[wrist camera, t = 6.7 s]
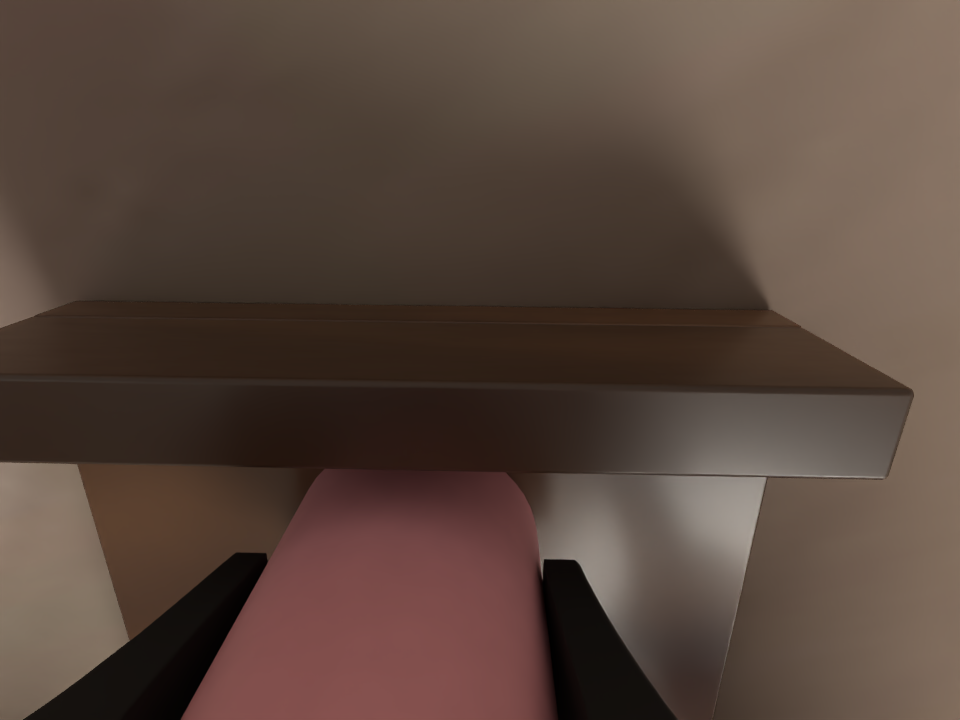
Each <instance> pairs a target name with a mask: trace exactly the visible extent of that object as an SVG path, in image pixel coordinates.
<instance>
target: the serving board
mask: <svg viewBox="0 0 960 720" xmlns="http://www.w3.org/2000/svg"><path fill="white" fill-rule="evenodd" d="M913 397H914V393H913V390H912V389H910V388H908V387H907V386H905V385H903V384H901V383H900V382H898V381H896V380H894V379H892V378H891V377H889V376H887V375H885V374H884V373H882V372H880V371H878V370H876V369H875V368H873V367H871V366H869V365H867V364H866V363H864V362H862V361H860V360H859V359H857V358H855V357H853V356H851V355H850V354H848V353H846V352H844V351H843V350H841V349H839V348H837V347H835V346H834V345H832V344H830V343H828V342H826V341H825V340H823V339H821V338H819V337H818V336H816V335H814V334H812V333H810V332H809V331H807V330H805V329H803V328H801V326H799V325H798V324H796V323H794V322H792V321H791V320H789V319H787V318H785V317H783V316H782V315H780V314H778V313H776V312H774V311H772V310H711V309H637V308H562V307H488V306H413V305H339V304H264V303H190V302H115V301H75V302H72V303H69V304H66V305H63V306H61V307H58V308H55V309H52V310H49V311H46V312H43V313H40V314H38V315H35V316H34V317H31V318H28V319H25V320H22V321H19V322H17V323H14V324H11V325H8V326H5V327H2V328H0V462H12V463H63V464H77V465H78V468H79V472H80V475H81V478H82V482H83V485H84V489H85V492H86V495H87V499H88V502H89V505H90V509H91V512H92V516H93V519H94V522H95V526H96V529H97V532H98V536H99V539H100V543H101V546H102V549H103V553H104V556H105V559H106V563H107V566H108V569H109V573H110V576H111V580H112V583H113V586H114V590H115V593H116V596H117V600H118V603H119V607H120V610H121V613H122V617H123V620H124V623H125V627H126V630H127V634H128V637H129V640H132V639H133V638H134V637H135V636H137V635H138V634H139V633H140V632H142V631H143V630H144V629H145V628H146V627H148V626H149V625H150V624H151V623H152V622H154V621H155V620H156V619H157V618H158V617H160V616H161V615H162V614H163V613H164V612H166V611H167V610H168V609H169V608H171V607H172V606H173V605H174V604H175V603H177V602H178V601H179V600H180V599H181V598H182V597H184V596H185V595H186V594H187V593H188V592H189V591H191V590H192V589H193V588H194V587H195V586H197V585H198V584H199V583H200V582H201V581H202V580H204V579H205V578H206V577H207V576H208V575H209V574H211V573H212V572H213V571H214V570H215V569H216V568H218V567H219V566H220V565H221V564H222V563H224V562H225V561H226V560H227V559H228V558H230V557H231V556H232V555H233V554H235V553H236V552H243V553H266V554H267V560H268V561H269V560H270V558H271V556H272V554H273V552H274V551H275V549H276V547H277V545H278V543H279V542H280V540H281V538H282V536H283V534H284V533H285V531H286V529H287V527H288V525H289V524H290V522H291V520H292V518H293V516H294V515H295V513H296V511H297V509H298V507H299V506H300V504H301V502H302V500H303V499H304V497H305V495H306V493H307V491H308V490H309V488H310V486H311V485H312V484H313V482H314V481H315V479H316V478H317V477H318V475H319V474H320V473H321V472H322V471H323V470H324V469H367V470H418V471H469V472H506V473H507V475H508V476H509V477H510V478H511V479H512V480H513V481H514V482H515V483H516V484H517V486H518V487H519V488H520V490H521V491H522V493H523V494H524V496H525V498H526V500H527V501H528V503H529V505H530V508H531V510H532V513H533V516H534V519H535V524H536V529H537V536H538V545H539V554H540V563H541V571H542V580H543V564H544V559H564V560H576V561H577V562H578V563H579V564H580V565H581V568H582V570H583V572H584V574H585V576H586V578H587V580H588V582H589V584H590V586H591V588H592V590H593V592H594V593H595V595H596V597H597V599H598V601H599V602H600V604H601V606H602V608H603V609H604V611H605V613H606V615H607V616H608V618H609V620H610V621H611V623H612V625H613V626H614V628H615V630H616V631H617V633H618V634H619V636H620V637H621V639H622V640H623V642H624V644H625V645H626V647H627V648H628V650H629V651H630V653H631V654H632V656H633V658H634V659H635V661H636V662H637V663H638V665H639V666H640V668H641V669H642V671H643V672H644V674H645V675H646V677H647V678H648V679H649V681H650V682H651V684H652V685H653V686H654V688H655V689H656V691H657V692H658V693H659V695H660V696H661V697H662V699H663V700H664V702H665V703H666V704H667V706H668V707H669V708H670V710H671V711H672V712H673V714H674V715H675V716H676V717H677V719H678V720H712V719H713V715H714V711H715V706H716V702H717V697H718V693H719V689H720V684H721V680H722V676H723V671H724V667H725V662H726V658H727V654H728V649H729V645H730V641H731V636H732V632H733V627H734V623H735V619H736V614H737V610H738V606H739V601H740V597H741V592H742V588H743V584H744V579H745V575H746V571H747V566H748V562H749V557H750V553H751V549H752V544H753V540H754V535H755V531H756V527H757V522H758V518H759V514H760V509H761V505H762V500H763V496H764V492H765V487H766V483H767V479H768V477H773V478H824V479H874V480H883V479H886V478H887V477H888V475H889V472H890V469H891V466H892V462H893V459H894V456H895V453H896V450H897V447H898V444H899V441H900V437H901V434H902V431H903V428H904V425H905V422H906V419H907V416H908V412H909V409H910V406H911V403H912V400H913Z"/></svg>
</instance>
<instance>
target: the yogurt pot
mask: <svg viewBox="0 0 960 720" xmlns="http://www.w3.org/2000/svg"><path fill="white" fill-rule="evenodd" d="M181 720H558V712H557V703H556V694H555V685H554V677H553V668H552V659H551V650H550V642H549V634H548V626H547V618H546V609H545V600H544V592H543V583H542V571H541V563H540V554H539V545H538V536H537V529H536V524H535V519H534V516H533V513H532V510H531V508H530V505H529V503H528V501H527V500H526V498H525V496H524V494H523V493H522V491H521V490H520V488H519V487H518V486H517V484H516V483H515V482H514V481H513V480H512V479H511V478H510V477H509V476H508V475H507V473H506V472H469V471H418V470H367V469H324V470H323V471H322V472H321V473H320V474H319V475H318V477H317V478H316V479H315V481H314V482H313V484H312V485H311V486H310V488H309V490H308V491H307V493H306V495H305V497H304V499H303V500H302V502H301V504H300V506H299V507H298V509H297V511H296V513H295V515H294V516H293V518H292V520H291V522H290V524H289V525H288V527H287V529H286V531H285V533H284V534H283V536H282V538H281V540H280V542H279V543H278V545H277V547H276V549H275V551H274V552H273V554H272V556H271V558H270V560H269V561H268V563H267V565H266V567H265V569H264V570H263V572H262V574H261V576H260V578H259V579H258V581H257V583H256V585H255V587H254V588H253V590H252V592H251V594H250V596H249V597H248V599H247V601H246V603H245V605H244V606H243V608H242V610H241V612H240V614H239V615H238V617H237V619H236V621H235V623H234V624H233V626H232V628H231V630H230V632H229V633H228V635H227V637H226V639H225V641H224V642H223V644H222V646H221V648H220V649H219V651H218V653H217V655H216V657H215V658H214V660H213V662H212V664H211V666H210V667H209V669H208V671H207V673H206V675H205V676H204V678H203V680H202V682H201V684H200V685H199V687H198V689H197V691H196V693H195V694H194V696H193V698H192V700H191V702H190V703H189V705H188V707H187V709H186V711H185V712H184V714H183V716H182V718H181Z"/></svg>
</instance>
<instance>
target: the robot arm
mask: <svg viewBox="0 0 960 720" xmlns="http://www.w3.org/2000/svg"><path fill="white" fill-rule="evenodd" d="M267 563H268V560H267V554H266V553H243V552H236V553H235V554H233V555H232V556H231V557H230V558H228V559H227V560H226V561H225V562H224V563H222V564H221V565H220V566H219V567H218V568H216V569H215V570H214V571H213V572H212V573H211V574H209V575H208V576H207V577H206V578H205V579H204V580H202V581H201V582H200V583H199V584H198V585H197V586H195V587H194V588H193V589H192V590H191V591H189V592H188V593H187V594H186V595H185V596H184V597H182V598H181V599H180V600H179V601H178V602H177V603H175V604H174V605H173V606H172V607H171V608H169V609H168V610H167V611H166V612H164V613H163V614H162V615H161V616H160V617H158V618H157V619H156V620H155V621H154V622H152V623H151V624H150V625H149V626H148V627H146V628H145V629H144V630H143V631H142V632H140V633H139V634H138V635H137V636H135V637H134V638H133V639H132V640H130V641H129V642H128V643H126V644H125V645H124V646H123V647H121V648H120V649H119V650H117V651H116V652H115V653H113V654H112V655H111V656H110V657H108V658H107V659H106V660H104V661H103V662H102V663H101V664H99V665H98V666H97V667H95V668H94V669H93V670H92V671H90V672H89V673H88V674H86V675H85V676H84V677H83V678H81V679H80V680H79V681H77V682H76V683H74V684H73V685H72V686H70V687H69V688H68V689H66V690H65V691H64V692H62V693H61V694H59V695H58V696H57V697H55V698H54V699H52V700H51V701H50V702H48V703H47V704H45V705H44V706H42V707H41V708H40V709H38V710H37V711H35V712H34V713H32V714H31V715H29V716H28V717H26V718H25V719H23V720H181V718H182V716H183V714H184V712H185V711H186V709H187V707H188V705H189V703H190V702H191V700H192V698H193V696H194V694H195V693H196V691H197V689H198V687H199V685H200V684H201V682H202V680H203V678H204V676H205V675H206V673H207V671H208V669H209V667H210V666H211V664H212V662H213V660H214V658H215V657H216V655H217V653H218V651H219V649H220V648H221V646H222V644H223V642H224V641H225V639H226V637H227V635H228V633H229V632H230V630H231V628H232V626H233V624H234V623H235V621H236V619H237V617H238V615H239V614H240V612H241V610H242V608H243V606H244V605H245V603H246V601H247V599H248V597H249V596H250V594H251V592H252V590H253V588H254V587H255V585H256V583H257V581H258V579H259V578H260V576H261V574H262V572H263V570H264V569H265V567H266V565H267ZM542 583H543V592H544V600H545V609H546V618H547V626H548V634H549V642H550V650H551V659H552V668H553V677H554V685H555V694H556V703H557V712H558V720H678V719H677V717H676V716H675V715H674V714H673V712H672V711H671V710H670V708H669V707H668V706H667V704H666V703H665V702H664V700H663V699H662V697H661V696H660V695H659V693H658V692H657V691H656V689H655V688H654V686H653V685H652V684H651V682H650V681H649V679H648V678H647V677H646V675H645V674H644V672H643V671H642V669H641V668H640V666H639V665H638V663H637V662H636V661H635V659H634V658H633V656H632V654H631V653H630V651H629V650H628V648H627V647H626V645H625V644H624V642H623V640H622V639H621V637H620V636H619V634H618V633H617V631H616V630H615V628H614V626H613V625H612V623H611V621H610V620H609V618H608V616H607V615H606V613H605V611H604V609H603V608H602V606H601V604H600V602H599V601H598V599H597V597H596V595H595V593H594V592H593V590H592V588H591V586H590V584H589V582H588V580H587V578H586V576H585V574H584V572H583V570H582V568H581V565H580V564H579V563H578V562H577V561H576V560H564V559H544V564H543V580H542Z"/></svg>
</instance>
